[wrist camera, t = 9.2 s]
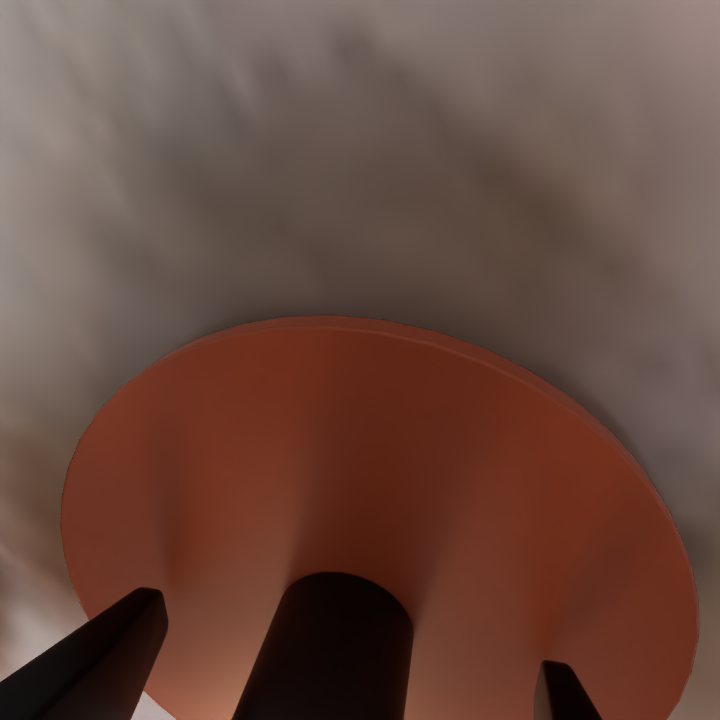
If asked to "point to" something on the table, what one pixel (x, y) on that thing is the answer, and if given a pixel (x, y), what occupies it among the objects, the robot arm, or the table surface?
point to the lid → (376, 531)
